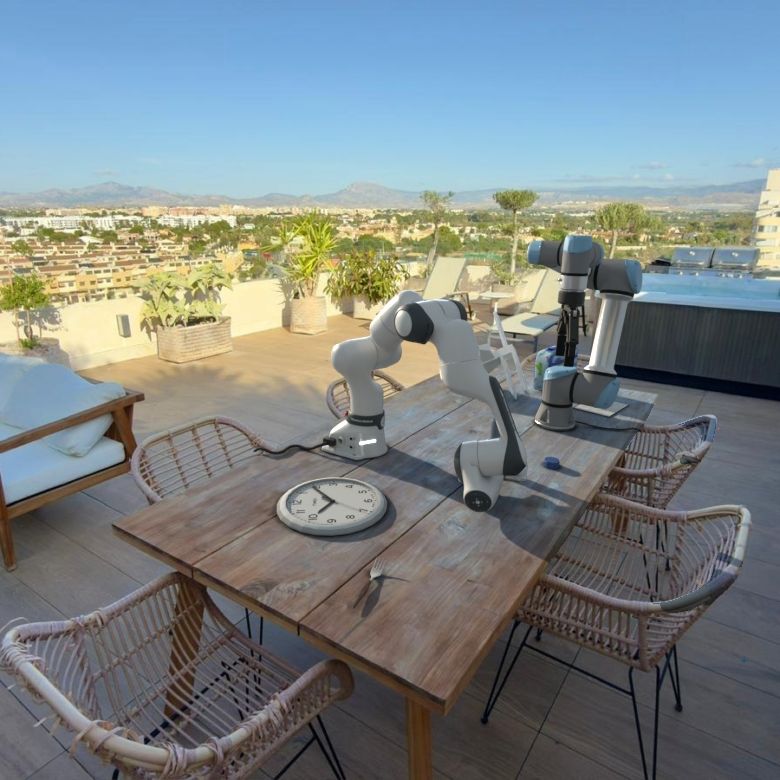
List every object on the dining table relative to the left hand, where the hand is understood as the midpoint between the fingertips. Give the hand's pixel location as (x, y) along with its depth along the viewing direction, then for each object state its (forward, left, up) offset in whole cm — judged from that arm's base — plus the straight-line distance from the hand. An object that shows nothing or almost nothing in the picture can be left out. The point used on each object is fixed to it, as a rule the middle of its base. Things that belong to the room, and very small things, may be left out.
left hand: (495, 456), depth 160 cm
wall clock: (-38, -35, -6) cm, 52 cm away
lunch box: (+12, +102, -6) cm, 103 cm away
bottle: (0, +3, -6) cm, 7 cm away
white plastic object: (-20, +84, -6) cm, 86 cm away
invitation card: (+33, +84, -6) cm, 90 cm away
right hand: (+16, +14, +29) cm, 36 cm away
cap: (+16, +14, -4) cm, 22 cm away
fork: (-16, -62, -6) cm, 65 cm away
